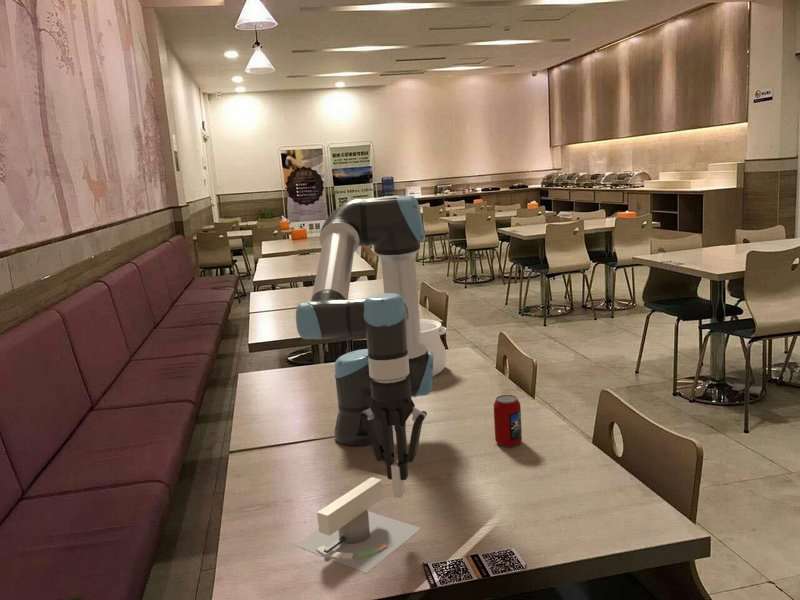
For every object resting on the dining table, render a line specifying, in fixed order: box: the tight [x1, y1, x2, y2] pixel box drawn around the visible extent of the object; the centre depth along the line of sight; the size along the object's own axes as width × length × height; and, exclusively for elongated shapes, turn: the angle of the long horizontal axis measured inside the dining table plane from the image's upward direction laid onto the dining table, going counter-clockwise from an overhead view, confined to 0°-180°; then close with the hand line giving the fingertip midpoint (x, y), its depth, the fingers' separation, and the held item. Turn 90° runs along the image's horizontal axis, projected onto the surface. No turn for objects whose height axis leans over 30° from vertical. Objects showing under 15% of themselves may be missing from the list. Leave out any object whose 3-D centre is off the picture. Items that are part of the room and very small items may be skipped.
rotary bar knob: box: [316, 476, 384, 553], centre depth 126 cm, size 6×16×8 cm, turn 144°
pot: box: [420, 318, 447, 377], centre depth 233 cm, size 26×24×17 cm
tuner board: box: [293, 510, 422, 574], centre depth 127 cm, size 18×17×2 cm
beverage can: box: [493, 394, 523, 448], centre depth 166 cm, size 7×7×12 cm
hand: (399, 494), depth 126 cm, fingers closed
